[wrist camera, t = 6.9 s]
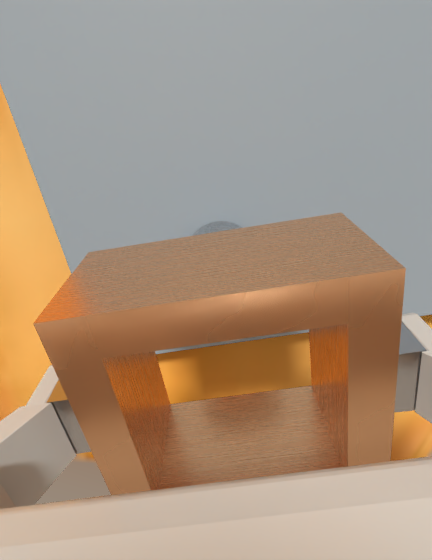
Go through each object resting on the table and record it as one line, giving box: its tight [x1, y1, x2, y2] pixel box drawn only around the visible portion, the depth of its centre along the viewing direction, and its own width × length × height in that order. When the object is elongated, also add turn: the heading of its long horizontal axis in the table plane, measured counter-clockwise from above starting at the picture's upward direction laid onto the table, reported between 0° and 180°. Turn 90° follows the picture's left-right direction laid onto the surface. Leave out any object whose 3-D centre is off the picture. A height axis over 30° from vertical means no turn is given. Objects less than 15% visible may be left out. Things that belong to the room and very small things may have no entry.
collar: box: [33, 212, 406, 495], centre depth 10 cm, size 7×7×4 cm
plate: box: [0, 0, 432, 354], centre depth 15 cm, size 20×20×2 cm
